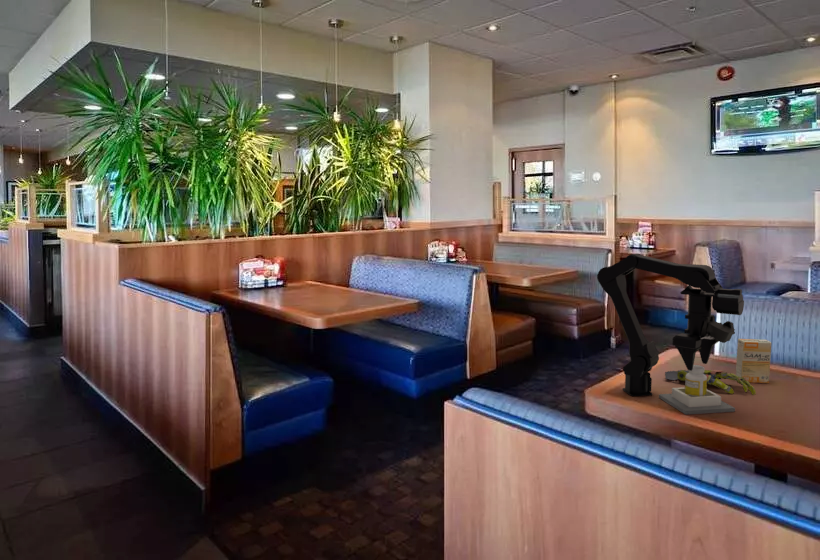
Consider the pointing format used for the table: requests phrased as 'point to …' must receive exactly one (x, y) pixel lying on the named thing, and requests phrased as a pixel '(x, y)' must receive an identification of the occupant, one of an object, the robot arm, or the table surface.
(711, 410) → the socket holder
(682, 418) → the table surface
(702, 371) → the supplement bottle
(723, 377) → the robotic hand
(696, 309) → the robot arm
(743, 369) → the supplement box
